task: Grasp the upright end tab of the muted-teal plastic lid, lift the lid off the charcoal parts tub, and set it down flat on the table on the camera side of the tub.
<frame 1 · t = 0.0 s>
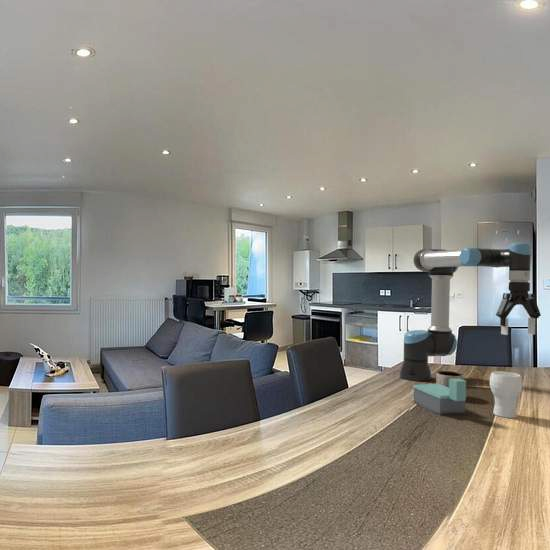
hand: (518, 334, 178), 28 cm above the table, fingers open, 13 cm apart
lid: (438, 392, 170), point 6 cm above the table, touching tub
tub: (438, 407, 170), on the table
cup: (505, 415, 163), on the table
planter: (449, 396, 188), on the table
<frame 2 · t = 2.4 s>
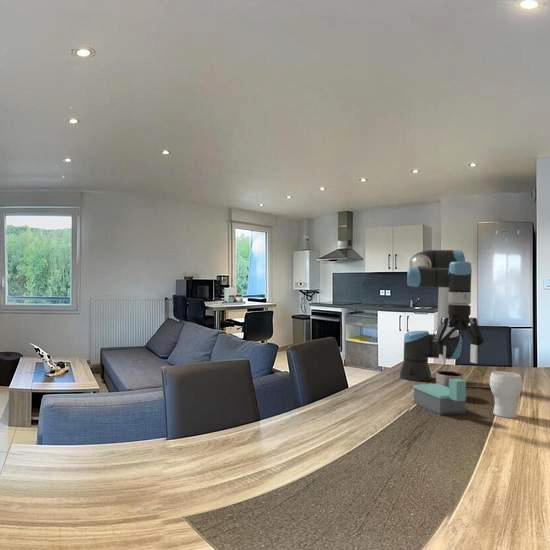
hand: (458, 363, 160), 19 cm above the table, fingers open, 13 cm apart
nothing on the table moved.
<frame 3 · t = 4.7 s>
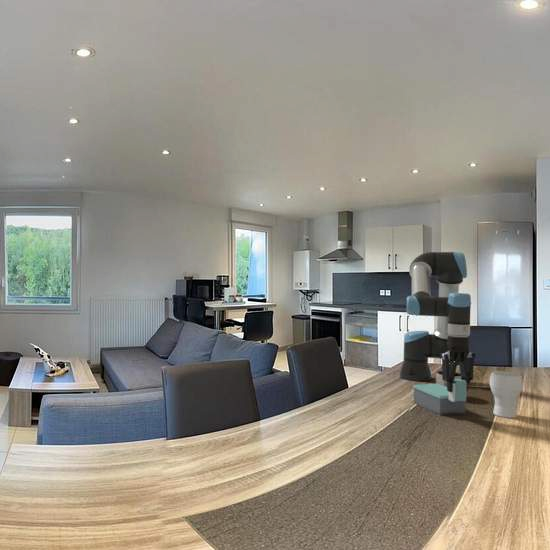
hand: (457, 400, 160), 6 cm above the table, fingers closed on lid, 4 cm apart
lid: (438, 392, 170), point 6 cm above the table, touching gripper, tub
everything else where it was.
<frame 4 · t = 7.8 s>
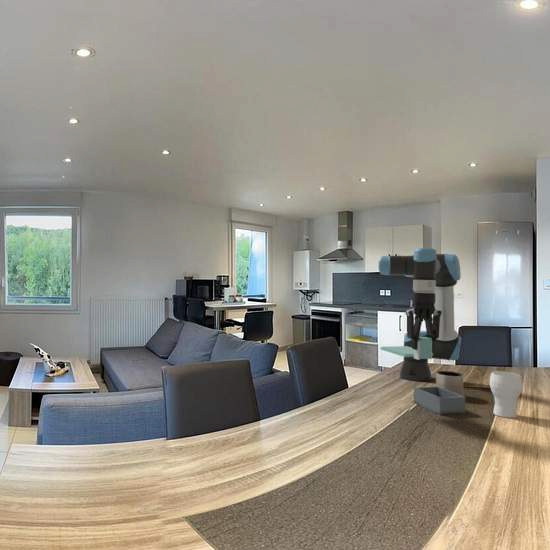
hand: (422, 358, 155), 21 cm above the table, fingers closed on lid, 4 cm apart
lid: (405, 352, 165), point 21 cm above the table, touching gripper
everything else where it was.
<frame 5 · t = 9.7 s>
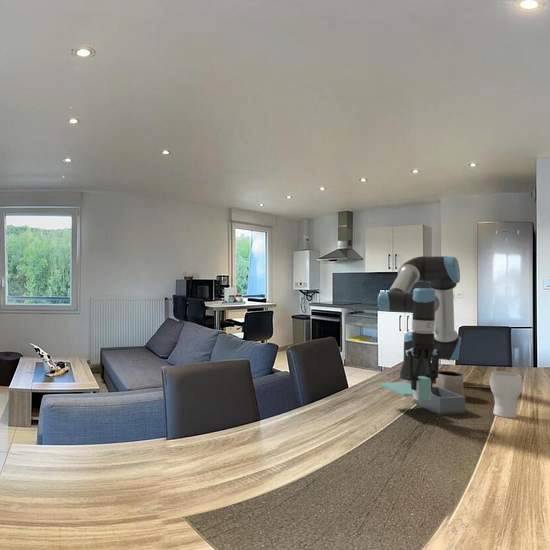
hand: (421, 398, 155), 7 cm above the table, fingers closed on lid, 4 cm apart
lid: (404, 390, 165), point 7 cm above the table, touching gripper
everything else where it was.
when the fingers open (1 cm above the table, at t = 11.4 s): lid drops 2 cm, on the table.
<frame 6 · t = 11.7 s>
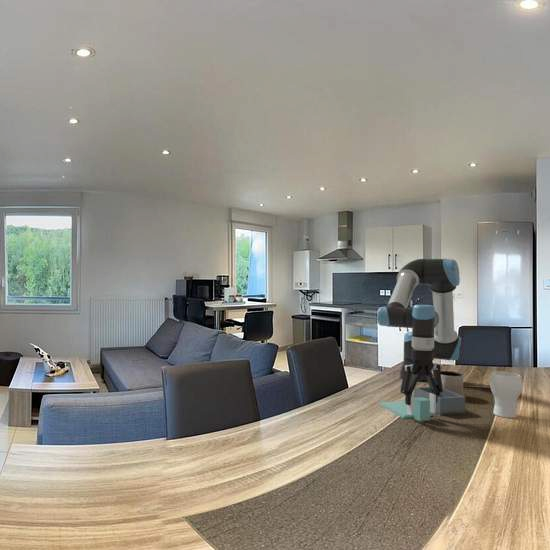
hand: (421, 413, 155), 2 cm above the table, fingers open, 8 cm apart
lid: (404, 410, 165), on the table
everything else where it was.
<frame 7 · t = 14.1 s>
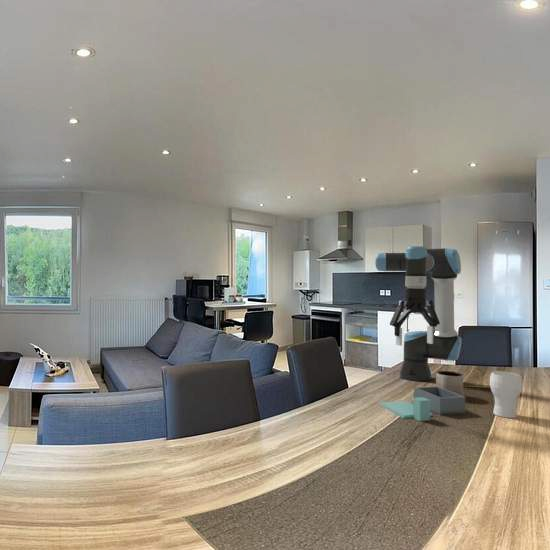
hand: (414, 344, 166), 25 cm above the table, fingers open, 13 cm apart
nothing on the table moved.
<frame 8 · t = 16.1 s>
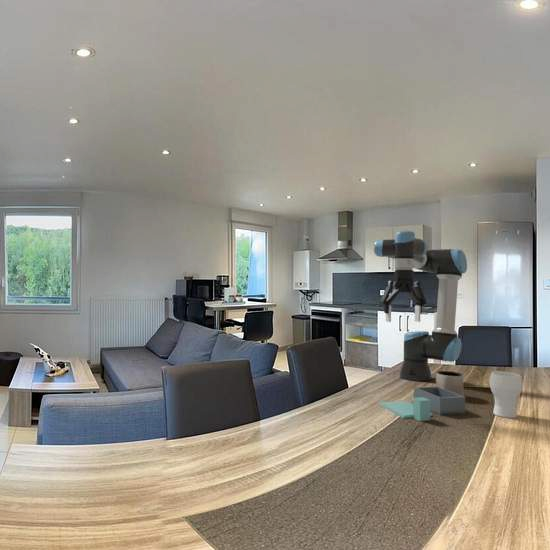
hand: (403, 321, 180), 32 cm above the table, fingers open, 13 cm apart
nothing on the table moved.
at the end: lid inside the target area (1.1 cm from its centre), on the table; lid touching table; the gripper is holding nothing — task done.
